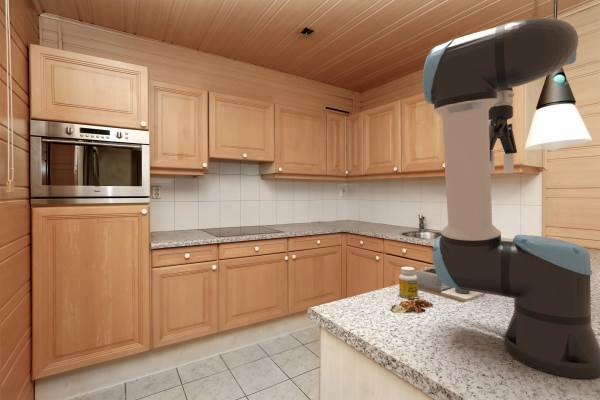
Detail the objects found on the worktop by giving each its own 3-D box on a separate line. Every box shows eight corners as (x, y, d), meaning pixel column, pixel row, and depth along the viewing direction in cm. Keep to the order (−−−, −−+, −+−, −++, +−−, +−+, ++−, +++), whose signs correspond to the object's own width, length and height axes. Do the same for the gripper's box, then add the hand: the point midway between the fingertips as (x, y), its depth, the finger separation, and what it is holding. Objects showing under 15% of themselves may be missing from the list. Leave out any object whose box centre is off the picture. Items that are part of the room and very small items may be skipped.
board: (463, 306, 87) (463, 302, 87) (406, 289, 103) (406, 286, 103) (490, 294, 96) (489, 291, 96) (434, 281, 112) (434, 278, 112)
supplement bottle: (408, 295, 98) (408, 265, 97) (421, 300, 93) (421, 268, 93) (395, 297, 95) (395, 267, 95) (408, 303, 90) (408, 271, 90)
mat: (466, 301, 88) (466, 299, 88) (440, 293, 95) (440, 292, 95) (483, 294, 94) (483, 292, 94) (458, 287, 101) (458, 286, 101)
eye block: (441, 292, 96) (441, 277, 96) (413, 285, 104) (413, 270, 104) (458, 286, 102) (458, 272, 101) (430, 280, 110) (430, 266, 110)
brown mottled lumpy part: (386, 309, 87) (386, 297, 87) (418, 303, 91) (418, 291, 91) (403, 318, 81) (402, 305, 81) (436, 311, 85) (436, 298, 85)
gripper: (493, 98, 89) (493, 170, 89) (528, 109, 103) (528, 172, 103) (467, 104, 95) (467, 172, 96) (503, 114, 109) (503, 174, 109)
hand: (499, 172), depth 99 cm, fingers open, 13 cm apart
